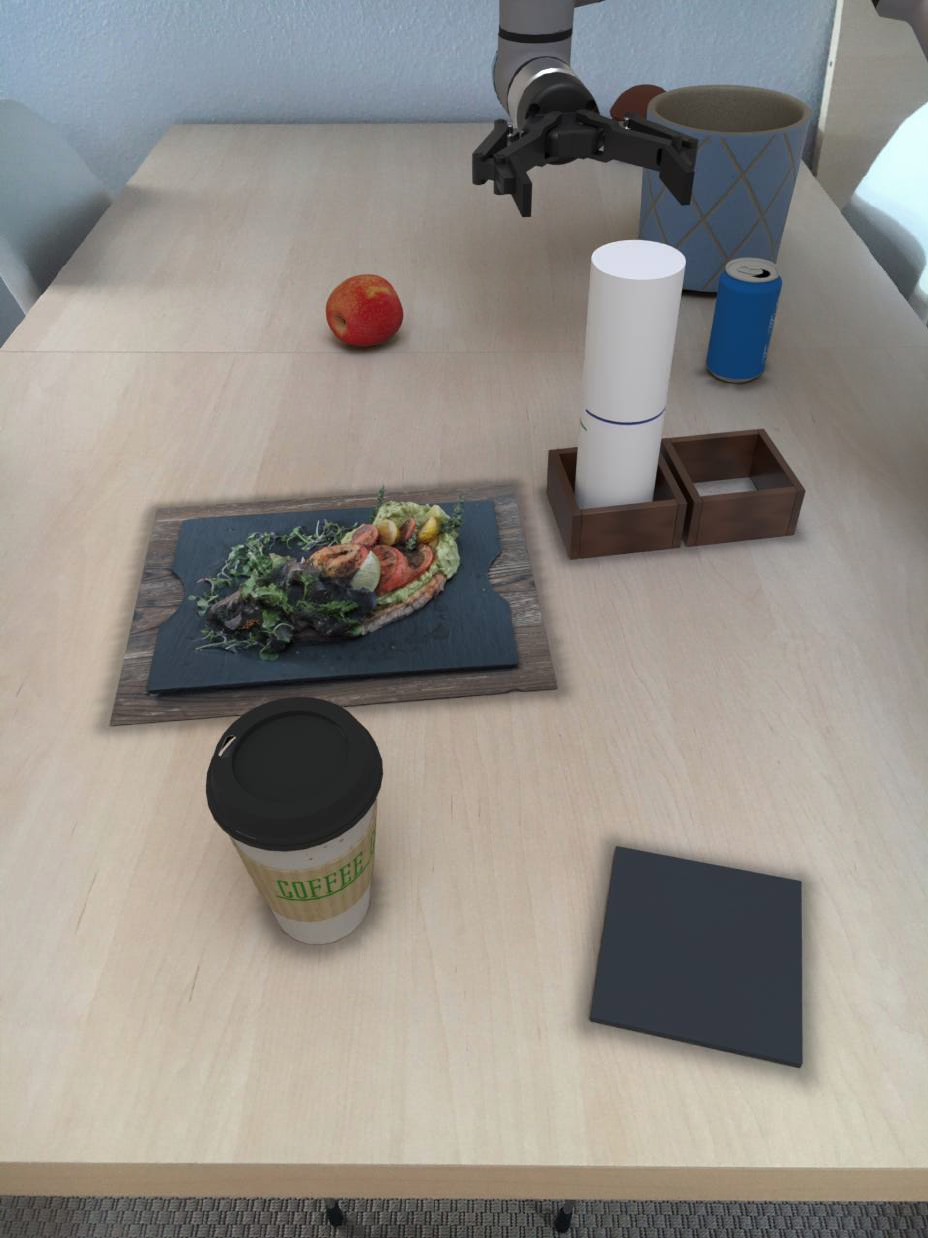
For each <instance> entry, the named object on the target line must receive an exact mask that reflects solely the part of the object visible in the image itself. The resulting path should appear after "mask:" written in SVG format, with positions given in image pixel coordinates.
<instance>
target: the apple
mask: <svg viewBox="0 0 928 1238" xmlns="http://www.w3.org/2000/svg"><path fill="white" fill-rule="evenodd" d="M325 318H326V319H325V320H326V322H327V325H328V327H329V329H330V330H331V332H332V333H333V335H334V336H335V337H336V338H337V339H339V341H340V342H342V343H344V344H346V345H347V346H351V347H371V346H374V345H377V346H378V345H380V344H382V343H384V342H385V343H386V342H387V341H388V340H390V339H392V337H393V336H394V335H395V334H397V333H398V331H399V330H400V329H401V327H402V324H403V321H404V307H403V305H402V302H401V299H400V298H399V295H398V293H397V291H396V289H395V288H394V286H393V285H392V284H391V282H389V281H388V279H386V278H384V277H382V276H380V275H378V274H372V273H364V274H357V275H354V276H351V277H349V278H346V279H345V280H343V281H341V282H340V283H338V285H337V286H336V287H335V288H333V290H332V291H331V292H330V294H329V296H328V298H327V301H326V304H325Z"/></svg>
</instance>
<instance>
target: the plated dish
mask: <svg viewBox="0 0 928 1238" xmlns="http://www.w3.org/2000/svg"><path fill="white" fill-rule="evenodd" d="M385 488H386V486H385V485H384V484H383V485H382V487H380V488H379V490H378V493H377V492H376V493H364V494H363V493H361V494H350V495H346V494H345V495H336V496H335V495H332V496H320V497H303V498H292V499H291V498H290V499H275V500H274V499H273V500H260V501H246V502H245V501H244V502H232V503H218V504H216V503H215V504H205V505H203V504H202V505H201V504H200V505H190V506H189V505H188V506H186V505H185V506H173V507H159V508H158V507H157V508H156V512H155V515H154V520H153V524H152V529H151V534H150V538H149V542H148V546H147V547H148V548H147V552H146V555H145V560H144V566H143V570H142V574H141V578H140V579H141V580H140V583H139V588H138V592H137V598H136V601H135V607H134V611H133V615H132V616H133V617H132V619H131V625H130V630H129V634H128V639H127V643H126V649H125V652H124V656H123V657H124V658H123V660H122V661H123V662H122V666H121V671H120V675H119V679H118V685H117V689H116V693H115V698H114V703H113V707H112V712H111V716H110V720H109V725H108V726H110V727H111V726H123V725H124V726H125V725H134V724H147V723H158V722H171V721H183V720H194V719H206V718H218V717H230V716H242V715H243V714H245V713H247V712H248V711H250V710H252V709H254V708H255V707H257V706H260V705H262V704H265V703H267V702H270V701H274V700H278V699H282V698H291V697H313V698H318V699H323V700H327V701H329V702H332V703H334V704H337V705H339V706H341V707H346V706H361V705H370V704H372V705H373V704H382V703H394V702H407V701H419V700H433V699H443V698H455V697H467V696H478V695H479V696H480V695H493V694H503V693H504V694H505V693H510V692H514V691H516V690H518V691H520V692H529V691H541V690H552V689H558V684H557V678H556V675H555V670H554V665H553V661H552V657H551V652H550V647H549V643H548V638H547V634H546V630H545V624H544V620H543V616H542V611H541V606H540V602H539V597H538V593H537V588H536V584H535V579H534V574H533V571H532V565H531V561H530V557H529V551H528V548H527V543H526V538H525V533H524V529H523V524H522V520H521V514H520V511H519V507H518V506H519V505H518V501H517V497H516V493H515V488H514V484H513V483H511V484H497V485H496V484H493V485H478V486H468V487H466V486H465V487H450V488H449V487H448V488H435V489H423V490H422V489H421V490H406V491H389V492H385ZM252 620H254V621H252ZM255 620H257V621H255ZM248 621H252V623H253V624H251V625H250V626H248V627H247V628H245V629H242V630H241V631H240V632H239V631H238V630H239V629H241V628H243V627H245V626H246V624H247V622H248Z"/></svg>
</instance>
